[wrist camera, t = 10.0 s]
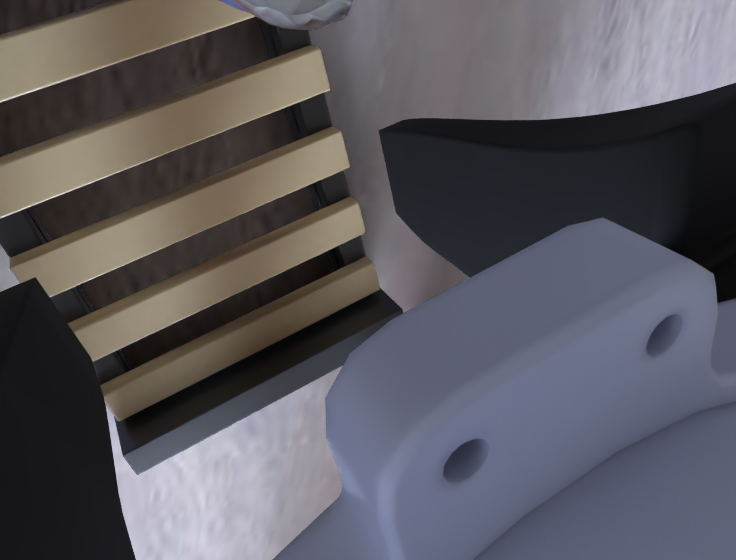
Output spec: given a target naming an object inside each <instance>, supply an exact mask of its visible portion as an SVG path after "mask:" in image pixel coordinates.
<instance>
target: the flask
mask: <svg viewBox="0 0 736 560" xmlns="http://www.w3.org/2000/svg"><path fill="white" fill-rule="evenodd" d="M219 1H221V2H224V3H226V4H228V5H230V6H232V7H234V8H236V9H238V10H241V11H245V12H248V13H251V14H252V15H254V16H256V17H258V18H260V19H262V20H263V21H265V22H267V23H268V24H270V25H275V26H279V27H281V28H289V29H298V30H315V29H319V28H321V27H323V26H325V25H327V24H329V23H332V22H337V21H340V20H342V19H344V18H345V17H346V16H347V15H348V12H349V9H350V7H351V4H352V1H353V0H219Z"/></svg>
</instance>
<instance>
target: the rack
mask: <svg viewBox="0 0 736 560" xmlns="http://www.w3.org/2000/svg"><path fill="white" fill-rule="evenodd" d="M253 17H256V16H254V15H252V14H251V13H248V12H245V11H241V10H238V9H236V8H234V7H232V6H230V5H228V4H226V3H224V2H221V1H219V0H112V1H108V2H105V3H102V4H99V5H95V6H92V7H89V8H86V9H82V10H79V11H76V12H73V13H69V14H66V15H63V16H60V17H56V18H53V19H50V20H46V21H43V22H40V23H37V24H33V25H30V26H27V27H24V28H20V29H17V30H14V31H11V32H7V33H4V34H1V35H0V103H1V102H4V101H7V100H10V99H13V98H16V97H19V96H22V95H25V94H28V93H31V92H34V91H37V90H40V89H43V88H46V87H48V86H51V85H54V84H57V83H60V82H63V81H66V80H69V79H72V78H75V77H78V76H81V75H84V74H87V73H90V72H93V71H96V70H99V69H102V68H105V67H108V66H111V65H114V64H117V63H120V62H122V61H125V60H128V59H131V58H134V57H137V56H140V55H143V54H146V53H149V52H152V51H155V50H158V49H161V48H164V47H167V46H170V45H173V44H176V43H179V42H182V41H185V40H188V39H191V38H194V37H197V36H199V35H202V34H205V33H208V32H211V31H214V30H217V29H220V28H223V27H226V26H229V25H232V24H235V23H238V22H241V21H244V20H247V19H250V18H253ZM258 20H259V24H260V27H261V30H262V34H263V37H264V40H265V43H266V47H267V50H268V53H269V57H270V60H267V61H265V62H262V63H259V64H256V65H254V66H251V67H248V68H245V69H242V70H240V71H237V72H234V73H231V74H229V75H226V76H223V77H220V78H218V79H215V80H212V81H209V82H207V83H204V84H201V85H198V86H196V87H193V88H190V89H187V90H184V91H182V92H179V93H176V94H173V95H171V96H168V97H165V98H162V99H160V100H157V101H154V102H151V103H149V104H146V105H143V106H140V107H137V108H135V109H132V110H129V111H126V112H124V113H121V114H118V115H115V116H113V117H110V118H107V119H104V120H102V121H99V122H96V123H93V124H91V125H88V126H85V127H82V128H79V129H77V130H74V131H71V132H68V133H66V134H63V135H60V136H57V137H55V138H52V139H49V140H46V141H44V142H41V143H38V144H35V145H33V146H30V147H27V148H24V149H21V150H19V151H16V152H13V153H10V154H8V155H5V156H2V157H0V244H1V246H2V247H3V249H4V250H5V252H6V253H7V255H8V256H9V257H10V269H11V271H12V272H13V274H14V275H15V276H16V278H17V279H18V281H19V282H20V283H23V282H25V281H27V280H30V279H32V278H34V277H36V278H37V280H38V281H39V283H40V284H41V286H42V287H43V288H44V290H45V291H46V293H47V294H48V296H49V297H50V299H51V300H52V302H53V303H54V304H55V306H56V307H57V309H58V310H59V312H60V313H61V315H62V316H63V318H64V319H65V320H66V322H67V323H68V325H69V326H70V328H71V329H72V331H73V332H74V334H75V335H76V336H77V338H78V339H79V341H80V342H81V344H82V345H83V347H84V348H85V350H86V351H87V352H88V354H89V355H90V357H91V359H92V362H93V365H94V368H95V371H96V374H97V377H98V380H99V383H100V386H101V389H102V393H103V396H104V400H105V404H106V405H107V406H108V408H109V409H110V411H111V412H112V414H113V415H114V418H115V423H116V427H117V432H118V436H119V441H120V445H121V450H122V454H123V457H124V458H125V459H126V461H127V462H128V463H129V465H130V466H131V467H132V469H133V470H134V471H135V473H136V474H137V475H139V474H141V473H143V472H145V471H147V470H149V469H150V468H152V467H154V466H156V465H158V464H160V463H162V462H163V461H165V460H167V459H169V458H171V457H173V456H175V455H177V454H178V453H180V452H182V451H184V450H186V449H188V448H190V447H191V446H193V445H195V444H197V443H199V442H201V441H203V440H204V439H206V438H208V437H210V436H212V435H214V434H216V433H218V432H219V431H221V430H223V429H225V428H227V427H229V426H231V425H232V424H234V423H236V422H238V421H240V420H242V419H244V418H245V417H247V416H249V415H251V414H253V413H255V412H257V411H259V410H260V409H262V408H264V407H266V406H268V405H270V404H272V403H273V402H275V401H277V400H279V399H281V398H283V397H285V396H286V395H288V394H290V393H292V392H294V391H296V390H298V389H300V388H301V387H303V386H305V385H307V384H309V383H311V382H313V381H314V380H316V379H318V378H320V377H322V376H324V375H326V374H327V373H329V372H331V371H333V370H335V369H337V368H339V367H341V366H342V365H344V363H345V361H346V360H347V358H348V356H349V354H350V353H351V352H352V351H353V350H355V349H356V348H357V347H358V346H360V345H361V344H362V343H363V342H364V341H366V340H367V339H368V338H369V337H371V336H372V335H373V334H374V333H376V332H377V331H378V330H379V329H380V328H382V327H383V326H384V325H385V324H387V323H388V322H389V321H390V320H392V319H393V318H395V317H397V316H399V315H401V314H403V310H402V308H401V307H400V306H399V305H397V304H396V303H395V302H394V301H393V300H392V299H391V298H390V297H389V296H388V295H387V294H386V293H385V292H384V291H383V290H382V289H381V288H380V286H379V282H378V278H377V274H376V270H375V266H374V263H373V262H372V261H371V260H370V259H369V258H368V257H366V255H365V252H364V248H363V244H362V240H361V236H360V235H362V234H364V233H366V230H365V226H364V222H363V218H362V214H361V210H360V206H359V202H358V201H356V200H355V199H354V198H353V197H350V193H349V189H348V185H347V181H346V177H345V173H344V170H345V169H347V168H349V167H350V164H349V160H348V156H347V152H346V148H345V144H344V140H343V136H342V132H341V130H339V129H337V128H336V127H334V126H332V123H331V119H330V115H329V111H328V107H327V103H326V99H325V95H324V92H327V91H329V90H330V85H329V81H328V77H327V73H326V69H325V65H324V61H323V57H322V53H321V49H320V47H317V46H314V45H311V41H310V37H309V33H308V30H298V29H289V28H281V27H279V26H275V25H270V24H268V23H267V22H265V21H263V20H262V19H260V18H258ZM283 108H285V110H286V113H287V117H288V120H289V123H290V127H291V130H292V133H293V137H294V140H295V142H293V143H290V144H288V145H285V146H283V147H280V148H278V149H275V150H273V151H271V152H268V153H266V154H263V155H261V156H258V157H256V158H253V159H251V160H249V161H246V162H244V163H241V164H239V165H236V166H234V167H231V168H229V169H227V170H224V171H222V172H219V173H217V174H214V175H212V176H209V177H207V178H204V179H202V180H200V181H197V182H195V183H192V184H190V185H187V186H185V187H182V188H180V189H178V190H175V191H173V192H170V193H168V194H165V195H163V196H160V197H158V198H156V199H153V200H151V201H148V202H146V203H143V204H141V205H138V206H136V207H134V208H131V209H129V210H126V211H124V212H121V213H119V214H116V215H114V216H112V217H109V218H107V219H104V220H102V221H99V222H97V223H94V224H92V225H90V226H87V227H85V228H82V229H80V230H77V231H75V232H72V233H70V234H67V235H65V236H63V237H60V238H58V239H55V240H53V241H52V240H51V238H50V237H49V235H48V234H47V232H46V230H45V229H44V227H43V226H42V224H41V222H40V221H39V219H38V218H37V216H36V214H35V213H34V211H33V210H32V208H31V206H34V205H36V204H39V203H41V202H44V201H47V200H49V199H52V198H54V197H57V196H59V195H62V194H65V193H67V192H70V191H72V190H75V189H77V188H80V187H83V186H85V185H88V184H90V183H93V182H95V181H98V180H101V179H103V178H106V177H108V176H111V175H113V174H116V173H119V172H121V171H124V170H126V169H129V168H131V167H134V166H137V165H139V164H142V163H144V162H147V161H149V160H152V159H154V158H157V157H160V156H162V155H165V154H167V153H170V152H172V151H175V150H178V149H180V148H183V147H185V146H188V145H190V144H193V143H196V142H198V141H201V140H203V139H206V138H208V137H211V136H214V135H216V134H219V133H221V132H224V131H226V130H229V129H232V128H234V127H237V126H239V125H242V124H244V123H247V122H250V121H252V120H255V119H257V118H260V117H262V116H265V115H268V114H270V113H273V112H275V111H278V110H280V109H283ZM305 186H309V190H310V193H311V196H312V200H313V203H314V206H315V210H316V212H314V213H312V214H310V215H308V216H305V217H303V218H301V219H299V220H296V221H294V222H292V223H290V224H288V225H285V226H283V227H281V228H279V229H276V230H274V231H272V232H270V233H268V234H265V235H263V236H261V237H259V238H256V239H254V240H252V241H250V242H248V243H245V244H243V245H241V246H239V247H236V248H234V249H232V250H230V251H228V252H225V253H223V254H221V255H219V256H216V257H214V258H212V259H210V260H207V261H205V262H203V263H201V264H199V265H196V266H194V267H192V268H190V269H187V270H185V271H183V272H181V273H179V274H176V275H174V276H172V277H170V278H167V279H165V280H163V281H161V282H159V283H156V284H154V285H152V286H150V287H147V288H145V289H143V290H141V291H139V292H136V293H134V294H132V295H130V296H127V297H125V298H123V299H121V300H119V301H116V302H114V303H112V304H110V305H107V306H105V307H103V308H101V309H98V310H95V308H94V306H93V305H92V303H91V302H90V300H89V299H88V297H87V295H86V294H85V292H84V291H83V289H82V287H81V286H80V284H82V283H84V282H87V281H89V280H91V279H93V278H96V277H98V276H100V275H103V274H105V273H107V272H110V271H112V270H114V269H117V268H119V267H121V266H123V265H126V264H128V263H130V262H133V261H135V260H137V259H140V258H142V257H144V256H146V255H149V254H151V253H153V252H156V251H158V250H160V249H163V248H165V247H167V246H170V245H172V244H174V243H176V242H179V241H181V240H183V239H186V238H188V237H190V236H193V235H195V234H197V233H199V232H202V231H204V230H206V229H209V228H211V227H213V226H216V225H218V224H220V223H222V222H225V221H227V220H229V219H232V218H234V217H236V216H239V215H241V214H243V213H246V212H248V211H250V210H252V209H255V208H257V207H259V206H262V205H264V204H266V203H269V202H271V201H273V200H275V199H278V198H280V197H282V196H285V195H287V194H289V193H292V192H294V191H296V190H299V189H301V188H303V187H305ZM326 251H328V253H329V256H330V260H331V263H332V266H333V270H334V272H332V273H330V274H328V275H326V276H324V277H322V278H320V279H318V280H316V281H314V282H312V283H310V284H308V285H306V286H304V287H302V288H299V289H297V290H295V291H293V292H291V293H289V294H287V295H285V296H283V297H281V298H279V299H277V300H275V301H273V302H271V303H269V304H266V305H264V306H262V307H260V308H258V309H256V310H254V311H252V312H250V313H248V314H246V315H244V316H242V317H240V318H238V319H236V320H234V321H231V322H229V323H227V324H225V325H223V326H221V327H219V328H217V329H215V330H213V331H211V332H209V333H207V334H205V335H203V336H201V337H198V338H196V339H194V340H192V341H190V342H188V343H186V344H184V345H182V346H180V347H178V348H176V349H174V350H172V351H170V352H168V353H165V354H163V355H161V356H159V357H157V358H155V359H153V360H151V361H149V362H147V363H145V364H143V365H141V366H139V367H137V368H135V369H133V368H132V367H131V365H130V364H129V362H128V360H127V359H126V357H125V356H124V354H123V352H122V351H121V348H123V347H125V346H127V345H129V344H132V343H134V342H136V341H138V340H140V339H142V338H144V337H146V336H148V335H151V334H153V333H155V332H157V331H159V330H161V329H163V328H165V327H168V326H170V325H172V324H174V323H176V322H178V321H180V320H182V319H184V318H187V317H189V316H191V315H193V314H195V313H197V312H199V311H201V310H203V309H206V308H208V307H210V306H212V305H214V304H216V303H218V302H220V301H223V300H225V299H227V298H229V297H231V296H233V295H235V294H237V293H239V292H242V291H244V290H246V289H248V288H250V287H252V286H254V285H256V284H258V283H261V282H263V281H265V280H267V279H269V278H271V277H273V276H275V275H278V274H280V273H282V272H284V271H286V270H288V269H290V268H292V267H294V266H297V265H299V264H301V263H303V262H305V261H307V260H309V259H311V258H313V257H316V256H318V255H320V254H322V253H324V252H326Z"/></svg>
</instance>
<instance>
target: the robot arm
mask: <svg viewBox="0 0 736 560" xmlns="http://www.w3.org/2000/svg"><path fill="white" fill-rule="evenodd" d="M379 135H380V140H381V144H382V149H383V154H384V158H385V163H386V168H387V173H388V177H389V182H390V187H391V191H392V196H393V201H394V205H395V210H396V213H397V214H398V215H399V217H400V218H401V219H402V220H403V221H404V222H405V223H406V224H407V225H408V227H409V228H410V229H411V230H412V231H413V232H414V233H415V234H416V235H417V236H418V237H419V238H420V239H421V240H422V241H423V242H424V243H426V244H427V245H428V246H429V247H431V248H432V249H433V250H435V251H436V252H437V253H438V254H440V255H441V256H442V257H443V258H445V259H446V260H447V261H449V262H450V263H451V264H453V265H454V266H455V267H457V268H458V269H459V270H461V271H462V272H463V273H465V274H466V275H467V276H468V277H470V278H469V279H467V280H465V281H463V282H461V283H459V284H457V285H456V286H454V287H452V288H450V289H448V290H446V291H444V292H442V293H441V294H439V295H437V296H435V297H433V298H431V299H429V300H427V301H425V302H424V303H422V304H420V305H418V306H416V307H414V308H412V309H410V310H409V311H407V312H405V313H403V314H401V315H399V316H397V317H395V318H393V319H392V320H390V321H389V322H388V323H387V324H385V325H384V326H383V327H382V328H380V329H379V330H378V331H377V332H376V333H374V334H373V335H372V336H371V337H369V338H368V339H367V340H366V341H364V342H363V343H362V344H361V345H360V346H358V347H357V348H356V349H355V350H353V351H352V352H351V353H350V354H349V356H348V358H347V360H346V361H345V363H344V365H343V367H342V369H341V371H340V372H339V374H338V376H337V378H336V380H335V382H334V383H333V385H332V387H331V389H330V391H329V393H328V394H327V396H326V398H325V399H326V438H327V441H328V443H329V446H330V448H331V451H332V453H333V456H334V458H335V461H336V463H337V466H338V468H339V471H340V476H341V481H342V492H341V494H340V495H339V497H338V499H336V500H335V501H334V502H333V503H332V504H331V505H330V506H329V507H328V508H327V509H326V510H325V511H324V512H323V513H322V514H320V515H319V516H318V517H317V518H316V519H315V520H314V521H313V522H312V523H311V524H310V525H309V526H308V527H307V528H306V529H304V530H303V531H302V532H301V533H300V534H299V535H298V536H297V537H296V538H295V539H294V540H293V541H292V542H291V543H290V544H289V545H287V546H286V547H285V548H284V549H283V550H282V551H281V552H280V553H279V554H278V555H277V556H276V557H275V558H274V559H273V560H736V83H734V84H730V85H727V86H724V87H721V88H717V89H714V90H711V91H707V92H704V93H701V94H697V95H693V96H689V97H685V98H681V99H677V100H672V101H668V102H664V103H660V104H655V105H650V106H646V107H641V108H636V109H630V110H624V111H618V112H612V113H606V114H599V115H591V116H583V117H573V118H561V119H549V120H468V119H441V118H417V119H407V120H402V121H400V122H397V123H395V124H393V125H390V126H388V127H386V128H383V129H381V130H379ZM0 560H136V559H135V555H134V552H133V548H132V545H131V541H130V538H129V534H128V531H127V527H126V524H125V520H124V517H123V513H122V508H121V503H120V498H119V493H118V487H117V480H116V473H115V466H114V459H113V452H112V445H111V439H110V432H109V425H108V419H107V412H106V406H105V400H104V396H103V393H102V389H101V386H100V383H99V380H98V377H97V374H96V371H95V368H94V365H93V362H92V359H91V357H90V355H89V354H88V352H87V351H86V350H85V348H84V347H83V345H82V344H81V342H80V341H79V339H78V338H77V336H76V335H75V334H74V332H73V331H72V329H71V328H70V326H69V325H68V323H67V322H66V320H65V319H64V318H63V316H62V315H61V313H60V312H59V310H58V309H57V307H56V306H55V304H54V303H53V302H52V300H51V299H50V297H49V296H48V294H47V293H46V291H45V290H44V288H43V287H42V286H41V284H40V283H39V281H38V280H37V278H36V277H34V278H32V279H30V280H27V281H25V282H23V283H20V284H18V285H16V286H13V287H11V288H9V289H6V290H4V291H2V292H0Z"/></svg>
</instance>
